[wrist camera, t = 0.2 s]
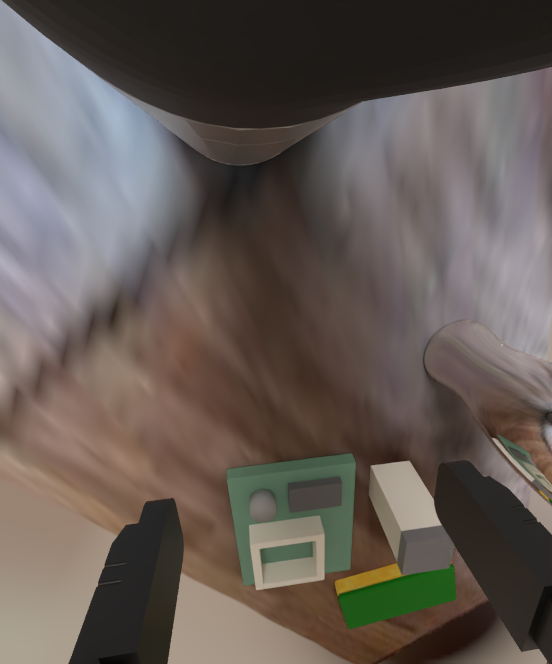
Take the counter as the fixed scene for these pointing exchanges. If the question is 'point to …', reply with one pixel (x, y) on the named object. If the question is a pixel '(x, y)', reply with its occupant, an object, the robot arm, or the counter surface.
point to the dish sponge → (392, 593)
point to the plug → (409, 518)
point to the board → (293, 519)
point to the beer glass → (500, 395)
